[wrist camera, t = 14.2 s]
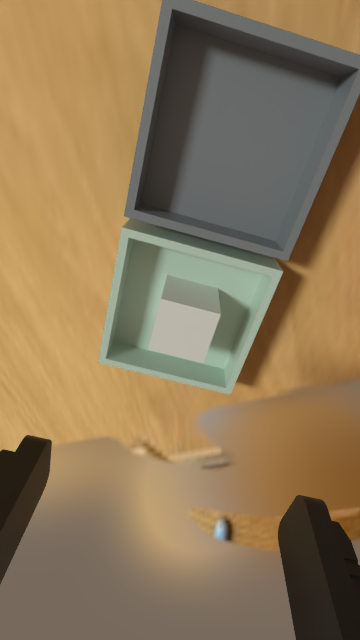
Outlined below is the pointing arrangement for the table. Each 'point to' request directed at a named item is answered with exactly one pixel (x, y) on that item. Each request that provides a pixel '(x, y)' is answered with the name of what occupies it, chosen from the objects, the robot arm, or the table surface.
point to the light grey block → (185, 319)
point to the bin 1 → (237, 127)
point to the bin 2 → (194, 265)
